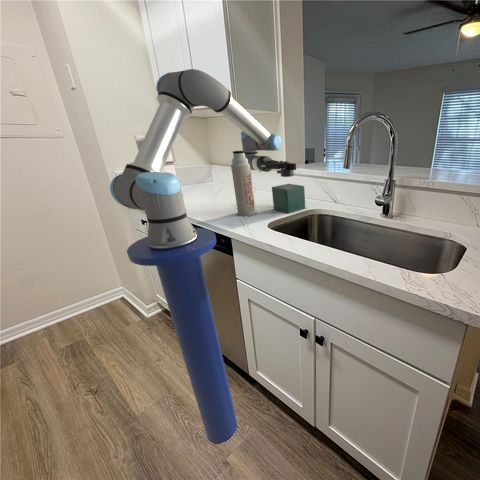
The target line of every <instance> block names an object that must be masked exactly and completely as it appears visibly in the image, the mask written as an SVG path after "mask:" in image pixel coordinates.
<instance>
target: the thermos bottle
mask: <svg viewBox="0 0 480 480" xmlns="http://www.w3.org/2000/svg"><path fill="white" fill-rule="evenodd" d="M244 153H245V152H244V151H243V150H233V151H232V156H233V158H232V159H231V163H232V164H230V168H231V173H232V174H231V176H232V182H233V189H234V194H235V202H236V209H237V215H238V216H241V217H246V216H247V217H248V216H253V215H255V214H256V205H255V204H256V203H255V196H254V187H253V179H252V172H251V171H252V170H250V164H248V159H247V158H245V154H244Z"/></svg>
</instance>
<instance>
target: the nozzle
mask: <svg viewBox="0 0 480 480" xmlns="http://www.w3.org/2000/svg"><path fill="white" fill-rule="evenodd" d="M276 173H277V174H280V177H282V178H290V177H294V175H295V174H294V173H295V172H294V170H288V169H283V170H282V169H277V170H276Z"/></svg>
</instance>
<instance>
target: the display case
mask: <svg viewBox="0 0 480 480" xmlns="http://www.w3.org/2000/svg"><path fill="white" fill-rule="evenodd" d="M145 136H146V134H145V135H134V137H133V138H134V140H135V143H136V147H137V152H139V149H140V147H141V145H142V143H143V140H144V138H145ZM162 172H168V173H172V174H174V175H176V176H177V172H176V168H175V163H174V159H173V155H172V150H171V151H170V153H169V156H168V158H167V160H166V163H165V165H164V168H163V170H162Z"/></svg>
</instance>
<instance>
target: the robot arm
mask: <svg viewBox="0 0 480 480" xmlns="http://www.w3.org/2000/svg"><path fill="white" fill-rule="evenodd" d="M155 90H156V92H157V96H156V100H157V102H158V107H157V109H156V111H155V114H154V116H153V119H152V120H151V122H150V124H149V127H148V129H147V132H146V134H145V135H146V136H145V135H144V136H145V138H144V140H143V143H142V145H141V147H140V149H139V151H137V154H136V156H135V159H134V160H133V161H132V162H129V163H126V164H125V167H124V169H123V171H122V173H121V174H118V175H115V177H113V179H112V180H111V182H110V185H109V186H110V187H109V191H110V194H111V196H112V198H113V199H114V200H115V202H117V203H118V204H119V205H121V206H123V207H125V208H129V209H130V210H140V211H144V213H145V216H146V220H147V224H148V227H147V236H148V238H147V243H148V246H149V248H150V249H153V250H171V249H177V248H181V247H184V246H187V245H189V244H191V243H193V242H195V241H196V240H197V238H198V237H197V233H196V231H195V229H194V228H195V227H194V226H193V224H192V222H191V221H190V220H189V217H188V215H187V210H186V205H185V201H184V196H183V191H182V185H181V183H180V181H179V178H178V176H177V174H176V175H174V174H172V173H168V172H162V170H163V168H164V165H165V163H166V160H167V158H168V156H169V153H170V151H171V152H172V149H173V146H174V144H175V142H176V139H177V137H178V135H179V132H180V129H181V127H182V125H183V123H184V120H185V119H189V118H191V116H192V113H193V111H194V109H195V108H196V107H206V108H209V109H211V110H213V111H214V112H215V113H217V114H221V115H222V116H223V117H225V118H226V119H227V120H229V121H230V122H231V123H232V124H234V125H235V126H236V127H238V129H240V130H241V132H240V138H241V139H240V140H241V147H242V148H241V149H242V151H244V152H245V153H244V154H245V158H247V159H248V164H250V170H251V171H258V172H259V173H261V172H265V173H269V172H271V171H272V170H281V169H282V170H283V169H288V170H293V171H296V170H297V163H295V162H294V163H293V162H289V161H287V160H285V161H284V160H275V159H272V158H271V157H270V156H268V155H259V151H266V152H267V151H271V152H275V151H279V150H280V149H281V148H282V139H281V138H282V137H281V136H280V134H277V133H271V132H270V131H268V129H267V128H266V127H264V126H263V125H262V124H261V123H260V121H259V120H257V119H256V118H255V117H254V116H253V115H252V114H251V113H250V112H248V110H247V109H245V108H244V107H243V106H242V105H241V104H240V103H239V102H238V101H237V100H236V99H235V98H234V97H233V96H232V93H231V91H230V90H229V88H227V86H225V85H224V84H223V83H222V82H220V81H219V80H218V79H216V78H215V77H213V76H212V75H210V74H209V73H207V72H205V71H203V70H200V69H196V68H190V69H185V70H179V71H178V70H177V71H171V72H170V71H169V72H167V73H164V74H162V75H161V76H160V77H159V78H158V79H157V82H156V85H155Z"/></svg>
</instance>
